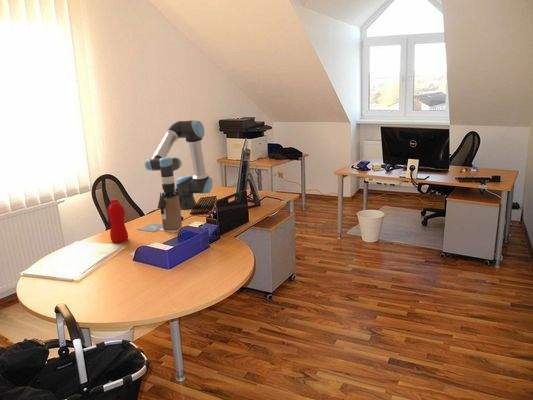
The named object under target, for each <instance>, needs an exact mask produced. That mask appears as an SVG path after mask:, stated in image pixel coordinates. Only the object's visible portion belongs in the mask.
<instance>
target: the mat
mask: <svg viewBox="0 0 533 400" xmlns="http://www.w3.org/2000/svg"><path fill="white" fill-rule="evenodd" d="M184 226H185V225H181V227H180V228H179V229H178V230H163V228H162V229H160V230H159V232H160V231H161V232H167V233H168V232H169V233H176V232H179V231H181V230H182V229H181V228H182V227H184ZM180 229H181V230H180Z"/></svg>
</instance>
